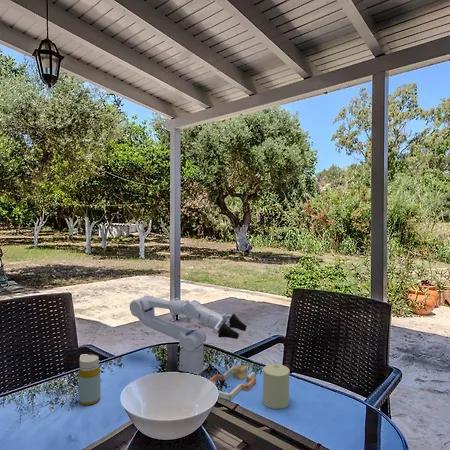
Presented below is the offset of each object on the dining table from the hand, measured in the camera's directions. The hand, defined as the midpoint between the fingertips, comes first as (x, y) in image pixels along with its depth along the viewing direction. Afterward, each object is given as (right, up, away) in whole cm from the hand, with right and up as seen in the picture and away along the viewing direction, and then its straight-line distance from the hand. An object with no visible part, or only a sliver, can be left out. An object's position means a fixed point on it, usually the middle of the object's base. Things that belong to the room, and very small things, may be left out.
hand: (242, 332), depth 144 cm
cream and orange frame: (-4, -19, -2) cm, 20 cm away
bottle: (-54, -19, -15) cm, 59 cm away
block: (-1, -19, +4) cm, 19 cm away
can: (+11, -20, -14) cm, 27 cm away
